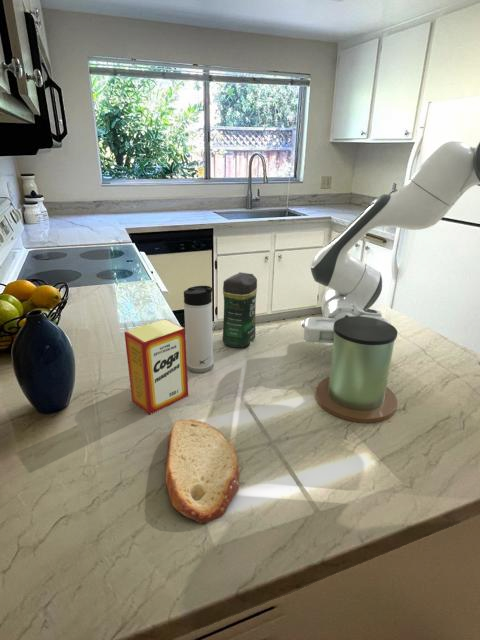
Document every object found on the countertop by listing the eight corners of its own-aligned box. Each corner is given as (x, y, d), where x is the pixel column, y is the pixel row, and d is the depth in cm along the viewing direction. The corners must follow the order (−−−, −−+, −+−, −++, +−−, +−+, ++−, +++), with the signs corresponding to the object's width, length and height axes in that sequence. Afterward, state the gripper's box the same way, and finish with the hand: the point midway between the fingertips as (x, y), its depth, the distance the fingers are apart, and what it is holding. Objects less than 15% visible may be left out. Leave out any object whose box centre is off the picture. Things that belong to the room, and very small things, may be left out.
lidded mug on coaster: (383, 376, 90) (394, 311, 84) (406, 425, 74) (422, 349, 68) (311, 373, 91) (317, 308, 85) (318, 420, 75) (326, 344, 69)
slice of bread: (185, 421, 77) (184, 404, 75) (269, 454, 68) (270, 437, 67) (114, 482, 62) (111, 463, 61) (209, 534, 54) (209, 514, 53)
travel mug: (208, 375, 92) (206, 293, 85) (182, 370, 94) (178, 289, 87) (218, 362, 98) (217, 284, 90) (193, 358, 100) (190, 281, 92)
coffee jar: (246, 351, 104) (247, 282, 97) (218, 345, 107) (218, 278, 99) (259, 336, 112) (261, 272, 105) (233, 331, 115) (233, 268, 108)
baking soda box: (169, 383, 89) (165, 317, 83) (188, 395, 85) (184, 326, 78) (132, 401, 83) (124, 330, 77) (149, 414, 78) (142, 340, 72)
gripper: (301, 307, 98) (305, 331, 86) (387, 311, 97) (403, 335, 84) (300, 331, 101) (303, 357, 88) (383, 335, 99) (399, 361, 86)
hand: (353, 346), depth 86 cm, fingers closed on lidded mug on coaster, 2 cm apart
